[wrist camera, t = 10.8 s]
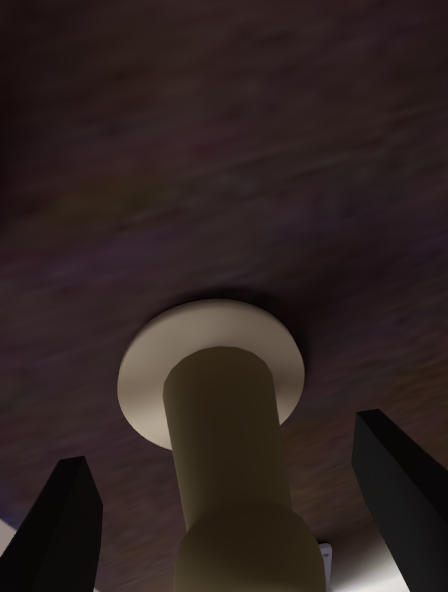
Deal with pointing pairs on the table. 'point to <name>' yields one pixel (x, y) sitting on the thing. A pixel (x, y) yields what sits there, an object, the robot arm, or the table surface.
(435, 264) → the table surface
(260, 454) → the cork
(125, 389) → the coaster
